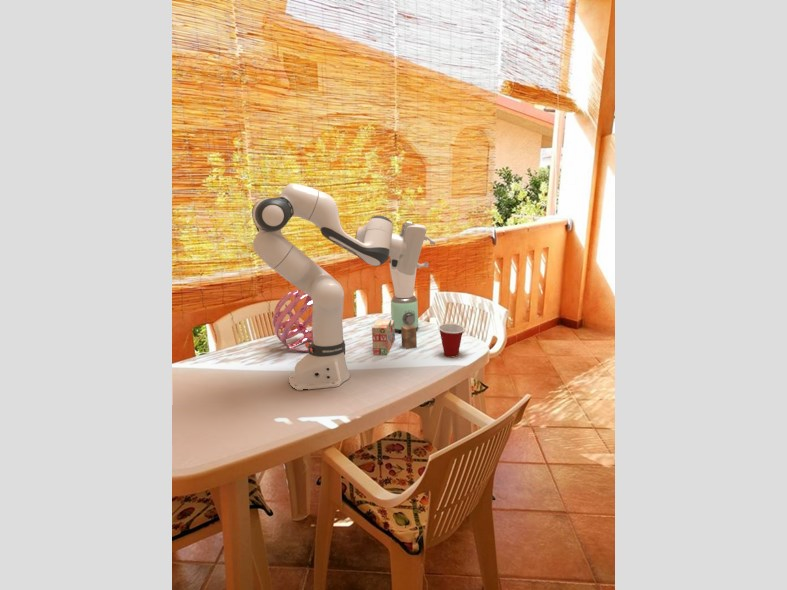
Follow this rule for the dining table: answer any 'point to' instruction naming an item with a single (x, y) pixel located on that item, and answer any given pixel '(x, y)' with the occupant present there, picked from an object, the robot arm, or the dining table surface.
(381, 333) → the stack of blocks
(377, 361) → the dining table surface
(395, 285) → the green blender
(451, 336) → the plastic cup
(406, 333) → the walnut block
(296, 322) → the spiral basket
